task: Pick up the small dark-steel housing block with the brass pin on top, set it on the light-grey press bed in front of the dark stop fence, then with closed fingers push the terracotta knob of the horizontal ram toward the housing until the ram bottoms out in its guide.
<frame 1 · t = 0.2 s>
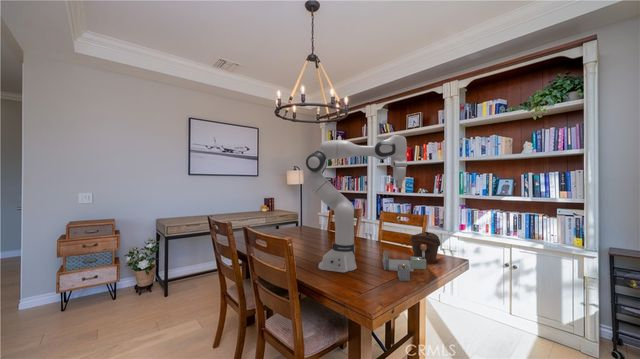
hand: (398, 187, 153), 47 cm above the table, fingers open, 8 cm apart
press bed: (397, 266, 161), on the table
housing: (403, 278, 142), on the table
ram guide: (418, 267, 159), on the table
ram: (419, 253, 159), point 8 cm above the table, slide at 0.0 cm
case: (424, 260, 173), on the table
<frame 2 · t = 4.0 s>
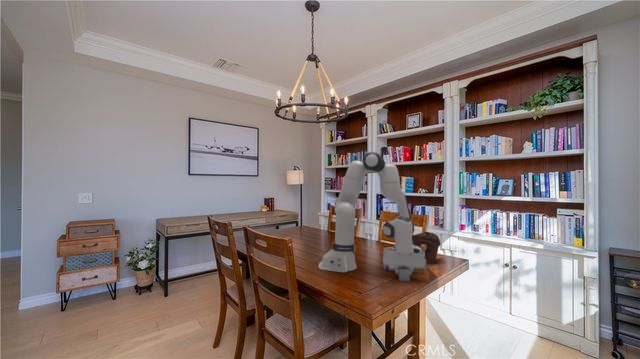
hand: (403, 274, 142), 2 cm above the table, fingers closed on housing, 5 cm apart
housing: (403, 278, 142), on the table, touching gripper
everything else where it was.
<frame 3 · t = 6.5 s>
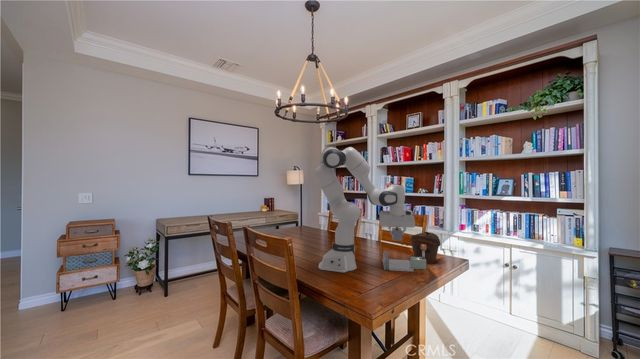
hand: (397, 234, 160), 19 cm above the table, fingers closed on housing, 5 cm apart
housing: (396, 239, 161), point 16 cm above the table, touching gripper
everything else where it was.
when the fingers open (5 cm above the table, at t = 9.3 s): housing stays where it is, resting on press bed.
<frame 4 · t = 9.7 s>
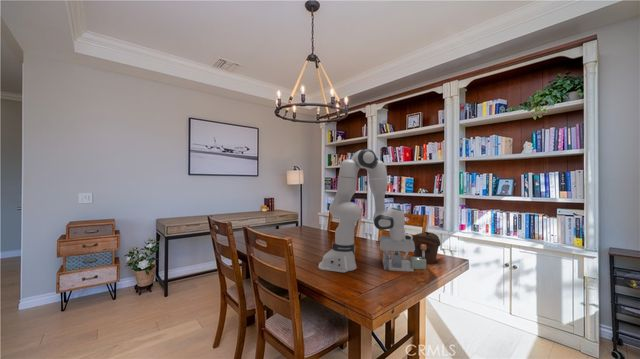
hand: (396, 258, 161), 5 cm above the table, fingers open, 8 cm apart
housing: (396, 263, 161), point 1 cm above the table, touching press bed
everything else where it was.
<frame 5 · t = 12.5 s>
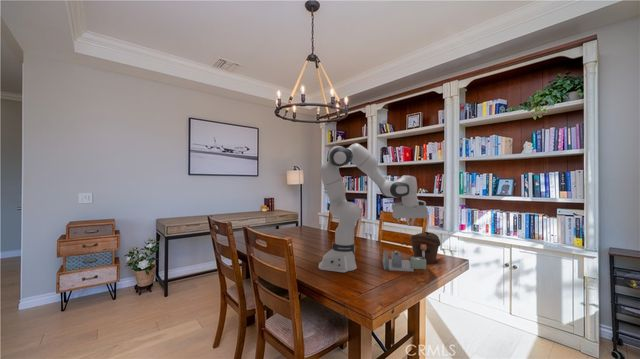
hand: (410, 225, 160), 25 cm above the table, fingers closed
nothing on the table moved.
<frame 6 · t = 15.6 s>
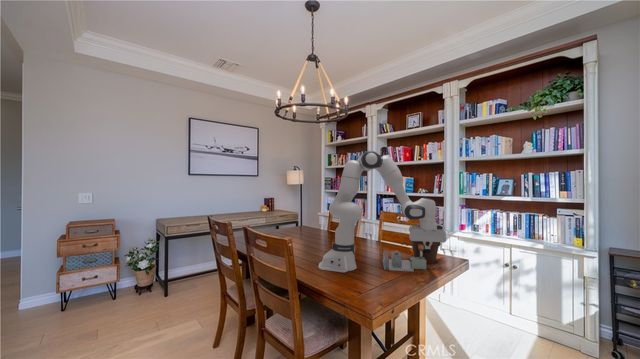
hand: (427, 248, 158), 11 cm above the table, fingers closed
ram: (417, 253, 159), point 8 cm above the table, slide at 1.3 cm, touching gripper
everything else where it was.
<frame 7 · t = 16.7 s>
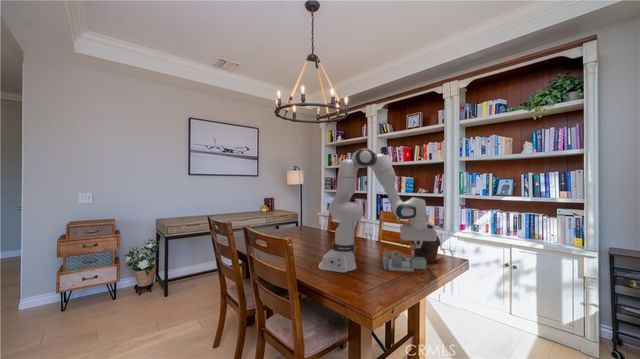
hand: (418, 248, 159), 11 cm above the table, fingers closed
ram: (408, 252, 160), point 8 cm above the table, slide at 6.1 cm, touching gripper
everything else where it was.
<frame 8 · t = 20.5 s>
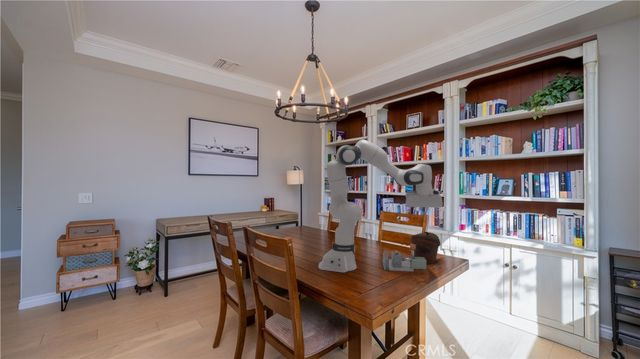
hand: (423, 214, 158), 31 cm above the table, fingers closed
ram: (408, 252, 160), point 8 cm above the table, slide at 6.0 cm
everything else where it was.
at the end: housing inside the target area (1.3 cm from its centre), point 1.5 cm above the table; housing tilted 0°; ram slide at 6.0 cm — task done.
